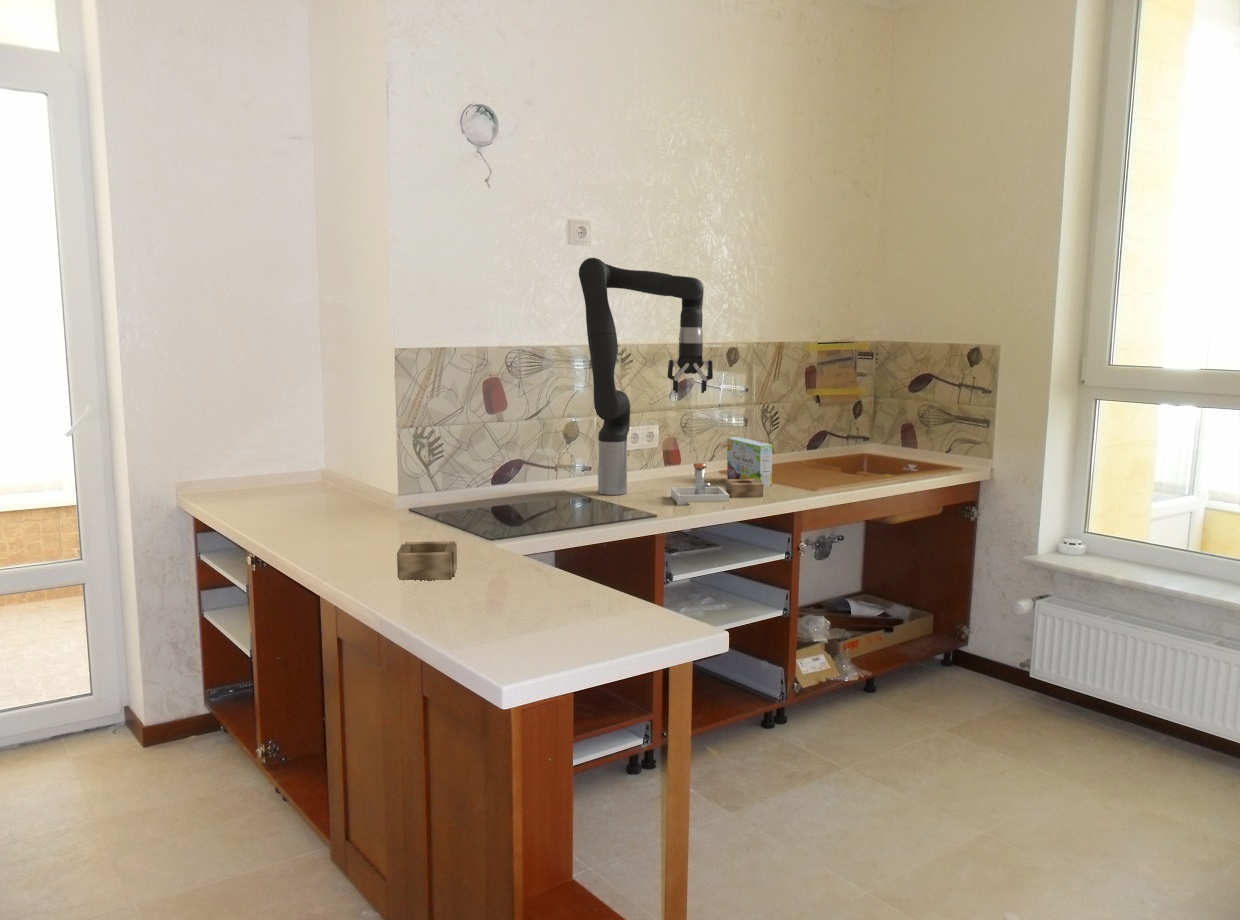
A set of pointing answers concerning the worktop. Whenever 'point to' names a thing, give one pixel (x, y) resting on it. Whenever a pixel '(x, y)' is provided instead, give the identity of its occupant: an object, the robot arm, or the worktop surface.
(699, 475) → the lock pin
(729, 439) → the snack box
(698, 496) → the tray
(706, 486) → the pulley
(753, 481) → the wooden box
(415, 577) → the box
